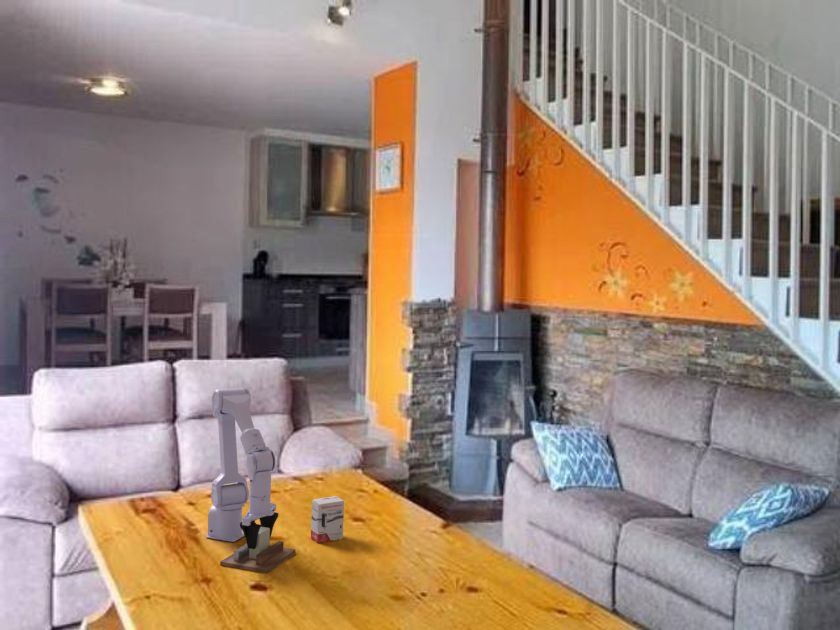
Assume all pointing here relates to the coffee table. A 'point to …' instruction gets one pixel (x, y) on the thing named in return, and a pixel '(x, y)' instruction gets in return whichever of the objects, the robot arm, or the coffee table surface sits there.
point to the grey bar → (241, 553)
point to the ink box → (327, 519)
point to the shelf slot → (261, 559)
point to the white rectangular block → (261, 542)
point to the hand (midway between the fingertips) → (259, 543)
